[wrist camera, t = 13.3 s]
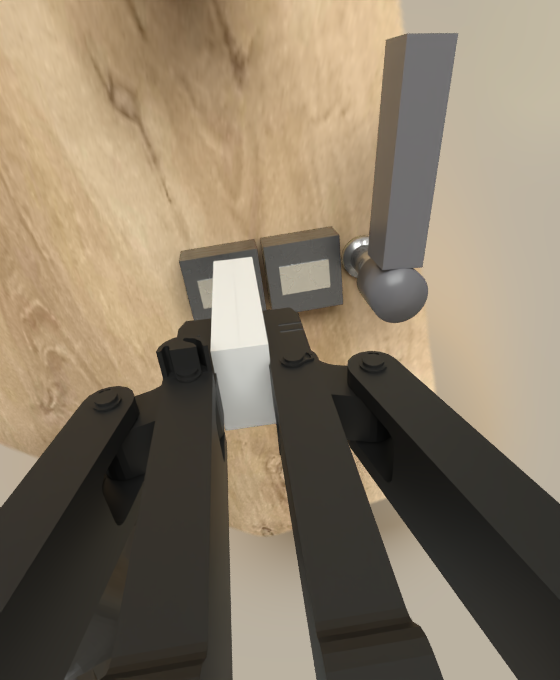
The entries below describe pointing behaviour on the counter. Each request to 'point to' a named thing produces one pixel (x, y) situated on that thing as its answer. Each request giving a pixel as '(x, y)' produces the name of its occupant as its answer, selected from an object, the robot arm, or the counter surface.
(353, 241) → the pivot post
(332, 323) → the counter surface
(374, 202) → the cable arm
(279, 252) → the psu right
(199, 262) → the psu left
